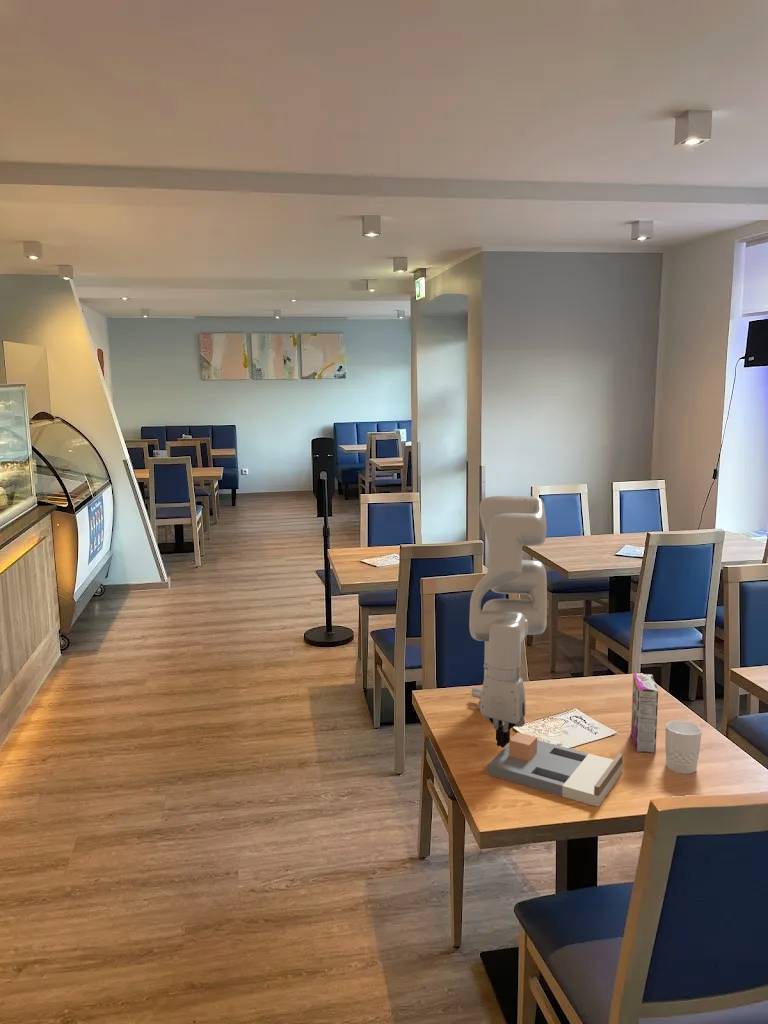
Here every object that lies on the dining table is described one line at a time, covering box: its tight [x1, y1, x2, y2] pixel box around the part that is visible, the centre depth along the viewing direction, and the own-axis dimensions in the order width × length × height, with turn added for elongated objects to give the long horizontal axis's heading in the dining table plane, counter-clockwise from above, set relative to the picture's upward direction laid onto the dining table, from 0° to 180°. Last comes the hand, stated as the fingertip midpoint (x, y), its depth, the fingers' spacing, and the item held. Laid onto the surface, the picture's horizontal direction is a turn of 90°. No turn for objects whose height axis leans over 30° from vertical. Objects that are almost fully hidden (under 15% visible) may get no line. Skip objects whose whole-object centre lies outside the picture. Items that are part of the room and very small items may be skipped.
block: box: [508, 731, 538, 761], centre depth 179 cm, size 5×5×4 cm
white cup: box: [664, 719, 703, 775], centre depth 177 cm, size 8×8×10 cm
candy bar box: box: [630, 672, 659, 754], centre depth 189 cm, size 11×5×16 cm, turn 168°
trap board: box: [486, 739, 624, 808], centre depth 175 cm, size 26×18×4 cm
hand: (502, 744), depth 182 cm, fingers closed
